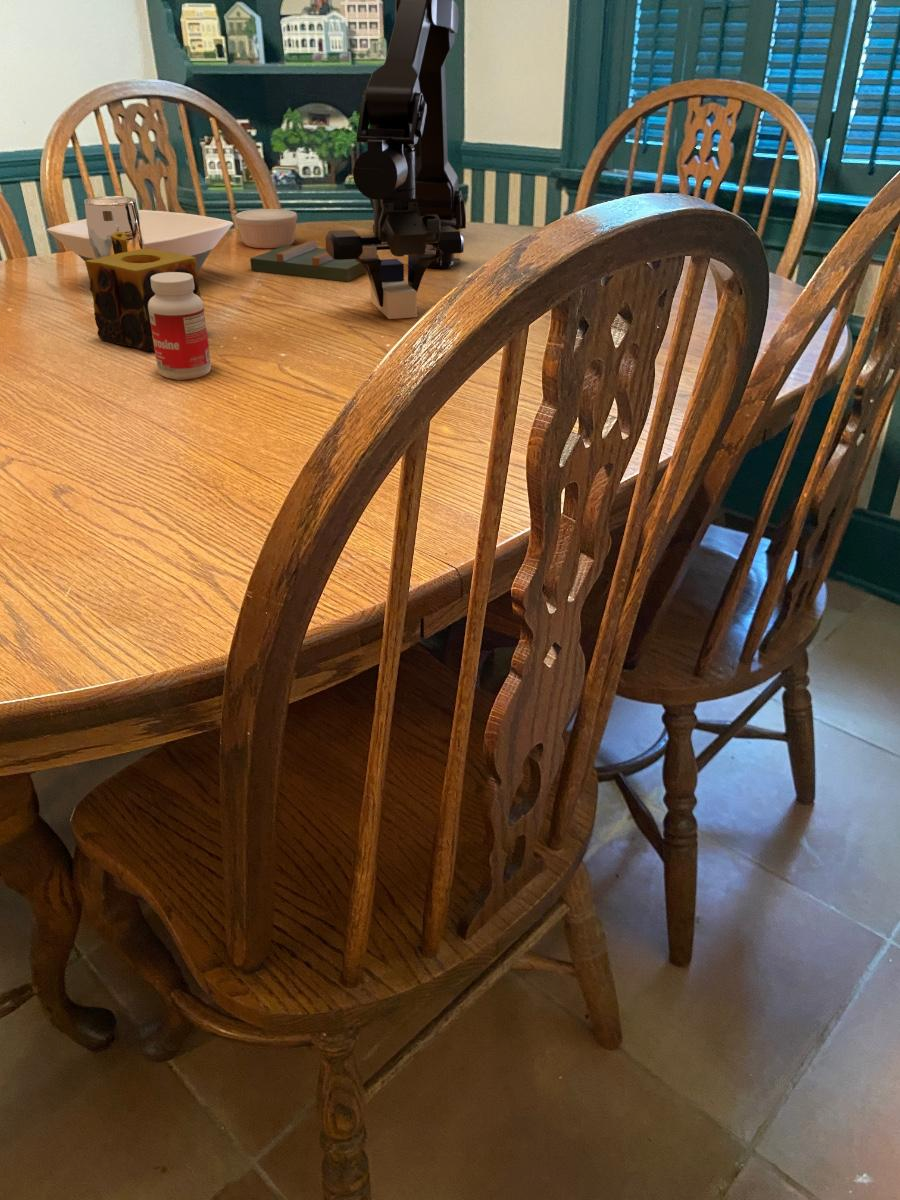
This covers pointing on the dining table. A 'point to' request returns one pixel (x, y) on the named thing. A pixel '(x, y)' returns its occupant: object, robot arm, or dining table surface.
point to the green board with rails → (306, 263)
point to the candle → (131, 292)
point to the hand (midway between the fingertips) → (395, 304)
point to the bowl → (156, 234)
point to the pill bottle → (178, 327)
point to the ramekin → (267, 227)
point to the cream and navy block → (395, 292)
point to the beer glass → (113, 225)
